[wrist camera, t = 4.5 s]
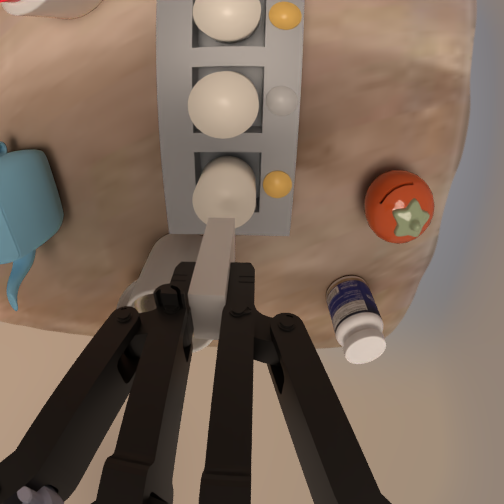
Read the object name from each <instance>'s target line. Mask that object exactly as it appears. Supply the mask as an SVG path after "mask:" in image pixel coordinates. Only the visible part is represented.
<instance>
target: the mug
mask: <svg viewBox="0 0 504 504" xmlns="http://www.w3.org/2000/svg"><path fill="white" fill-rule="evenodd" d="M202 239H203V236H201V235H198V234H167V235H165V236H163V237H162V238H160V239H159V240H158V241H157V242H156V243H155V244H154V246H153V248H152V250H151V252H150V254H149V256H148V258H147V261H146V263H145V265H144V267H143V269H142V272H141V274H140V276H139V278H138V279H137V280H136V281H134V282H133V283H132V284H131V285H130V286H128V288H127V289H126V290H125V291H124V292H123V294H122V295H121V297H120V299H119V302H118V305H117V309H118V308H120V307H124V306H130V307H133V308H135V309H136V310H137V311H138V313H142V312H148V311H152V310H154V309H156V303H155V299H154V294H153V292H154V291H155V289H156V288H157V287H159V286H161V285H163V284H168V283H170V281H171V278H172V276H173V272H174V269H175V267H176V266H177V265H178V264H179V263H180V262H181V261H182V262H196V261H197V257H198V254H199V250H200V246H201V243H202ZM211 341H212V340H211V339H195V338H194V332H193V337H192V343H193V351H192V353H193V352H196V351H199V350H201V349H203V348H205V347H206V346H208V345H209V344H210V343H211Z"/></svg>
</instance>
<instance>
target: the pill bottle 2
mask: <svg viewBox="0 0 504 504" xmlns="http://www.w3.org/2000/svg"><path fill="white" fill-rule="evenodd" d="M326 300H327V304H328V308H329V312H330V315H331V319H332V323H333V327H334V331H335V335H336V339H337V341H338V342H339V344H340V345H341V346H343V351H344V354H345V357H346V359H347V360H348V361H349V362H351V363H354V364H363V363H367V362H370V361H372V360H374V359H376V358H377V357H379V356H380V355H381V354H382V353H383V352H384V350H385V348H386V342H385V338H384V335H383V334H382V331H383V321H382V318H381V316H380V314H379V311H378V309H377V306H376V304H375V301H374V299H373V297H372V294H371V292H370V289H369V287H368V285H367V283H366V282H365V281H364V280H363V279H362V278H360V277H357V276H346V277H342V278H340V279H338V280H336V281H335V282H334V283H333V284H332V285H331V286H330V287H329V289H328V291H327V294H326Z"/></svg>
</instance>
